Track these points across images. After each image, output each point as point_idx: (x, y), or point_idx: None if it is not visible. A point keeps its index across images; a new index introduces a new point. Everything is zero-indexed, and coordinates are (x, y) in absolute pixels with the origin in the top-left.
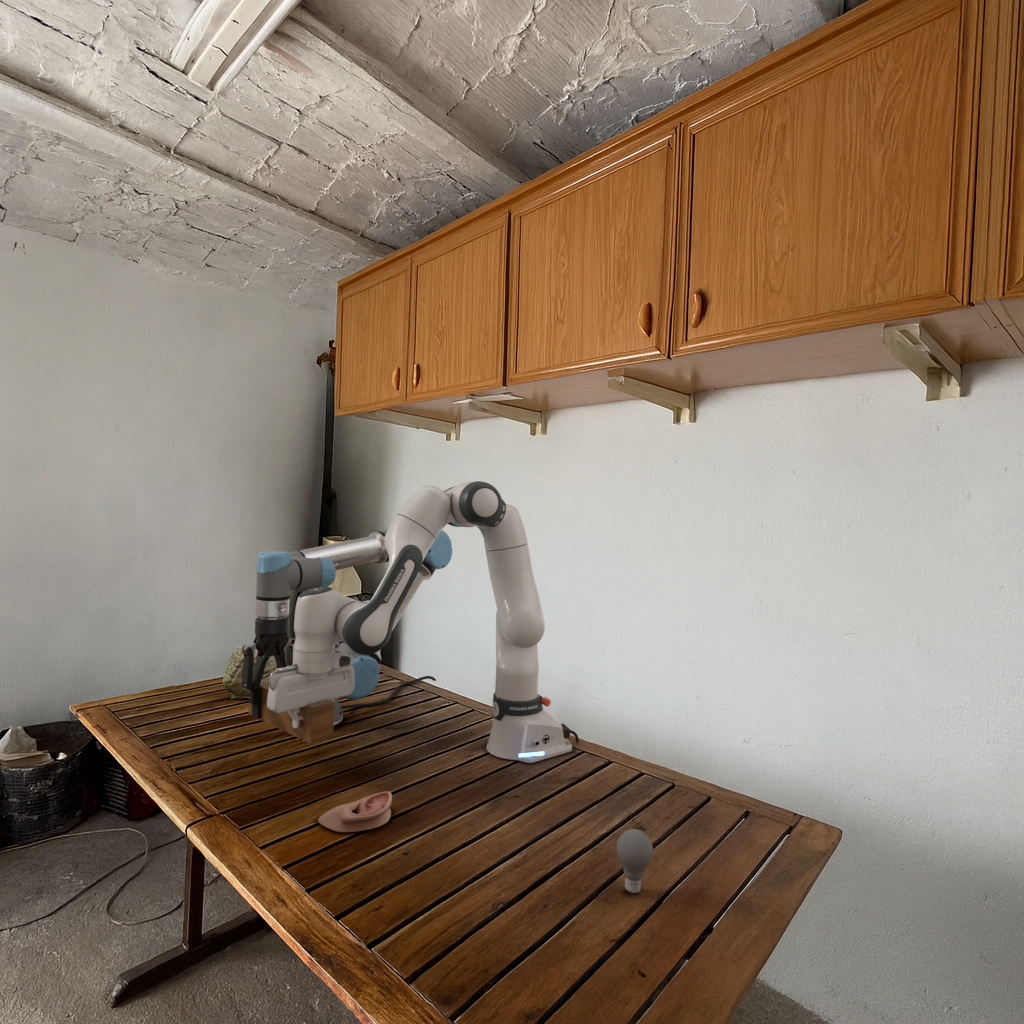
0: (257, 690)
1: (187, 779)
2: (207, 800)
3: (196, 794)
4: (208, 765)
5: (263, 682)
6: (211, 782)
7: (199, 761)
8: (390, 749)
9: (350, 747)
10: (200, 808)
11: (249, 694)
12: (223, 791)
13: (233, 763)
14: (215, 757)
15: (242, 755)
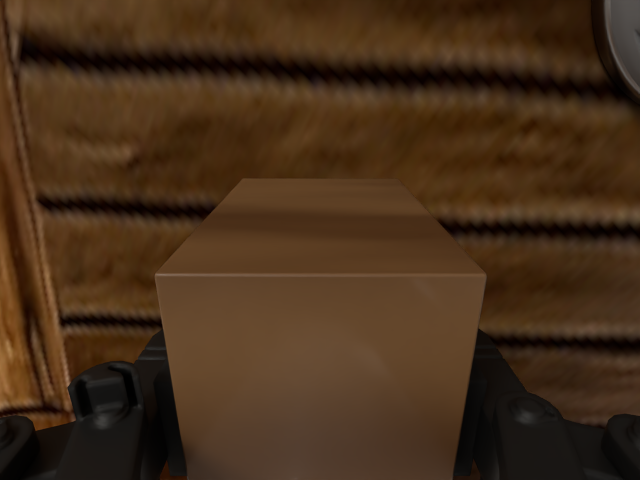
0: (165, 454)
1: (40, 170)
2: (62, 338)
3: (43, 288)
4: (134, 104)
5: (280, 401)
6: (102, 245)
7: (116, 36)
8: (631, 402)
9: (575, 314)
10: (36, 364)
11: (204, 221)
12: (114, 320)
13: (214, 155)
14: (182, 44)
15: (273, 106)
